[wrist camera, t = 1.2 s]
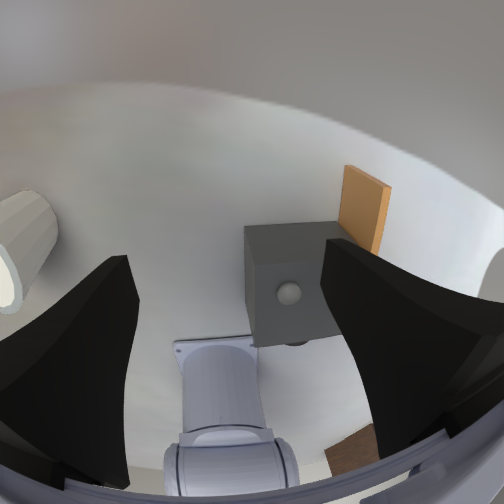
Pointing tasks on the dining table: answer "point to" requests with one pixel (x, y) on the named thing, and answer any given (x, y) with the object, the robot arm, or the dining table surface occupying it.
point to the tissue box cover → (353, 451)
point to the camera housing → (288, 282)
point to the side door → (364, 208)
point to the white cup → (23, 245)
